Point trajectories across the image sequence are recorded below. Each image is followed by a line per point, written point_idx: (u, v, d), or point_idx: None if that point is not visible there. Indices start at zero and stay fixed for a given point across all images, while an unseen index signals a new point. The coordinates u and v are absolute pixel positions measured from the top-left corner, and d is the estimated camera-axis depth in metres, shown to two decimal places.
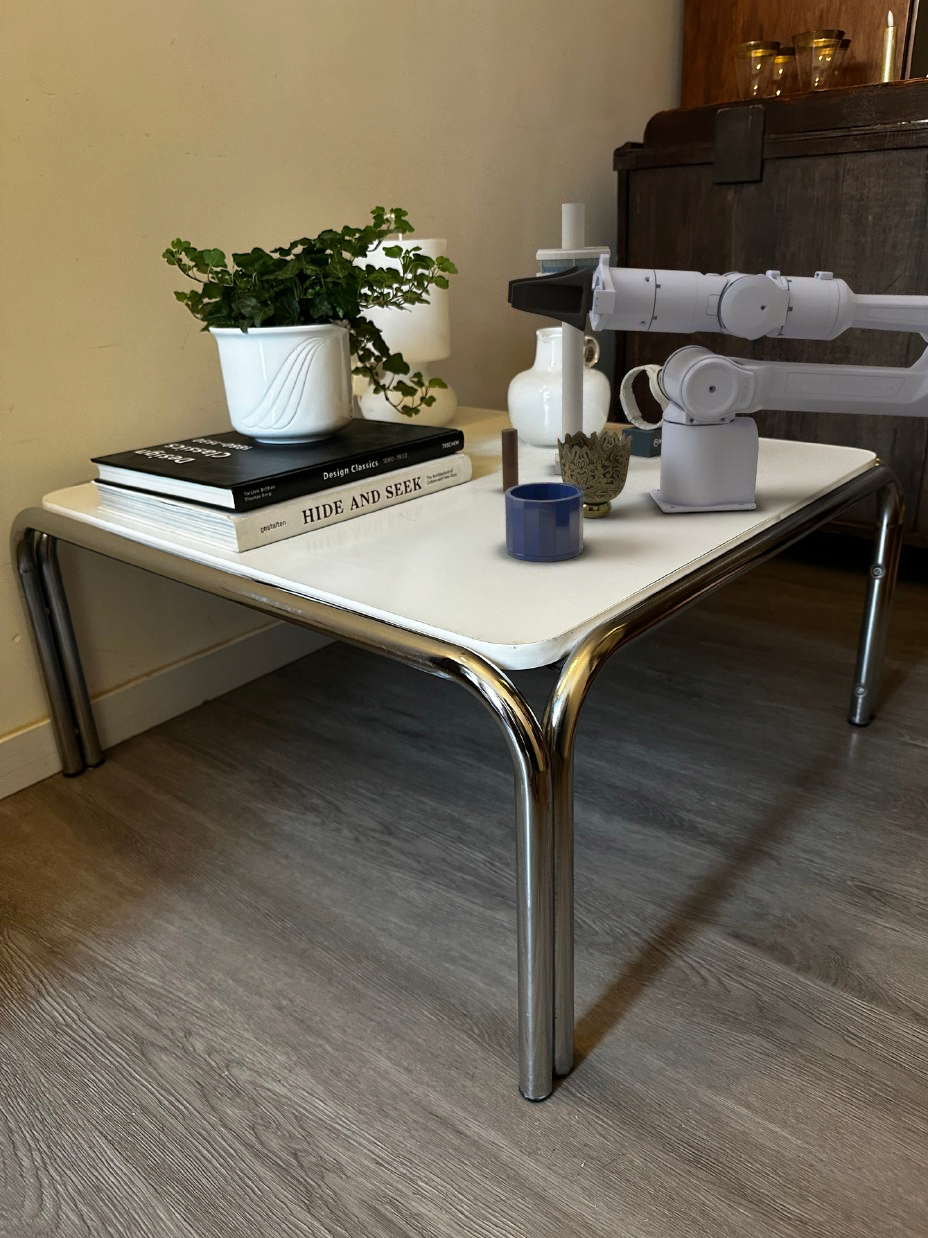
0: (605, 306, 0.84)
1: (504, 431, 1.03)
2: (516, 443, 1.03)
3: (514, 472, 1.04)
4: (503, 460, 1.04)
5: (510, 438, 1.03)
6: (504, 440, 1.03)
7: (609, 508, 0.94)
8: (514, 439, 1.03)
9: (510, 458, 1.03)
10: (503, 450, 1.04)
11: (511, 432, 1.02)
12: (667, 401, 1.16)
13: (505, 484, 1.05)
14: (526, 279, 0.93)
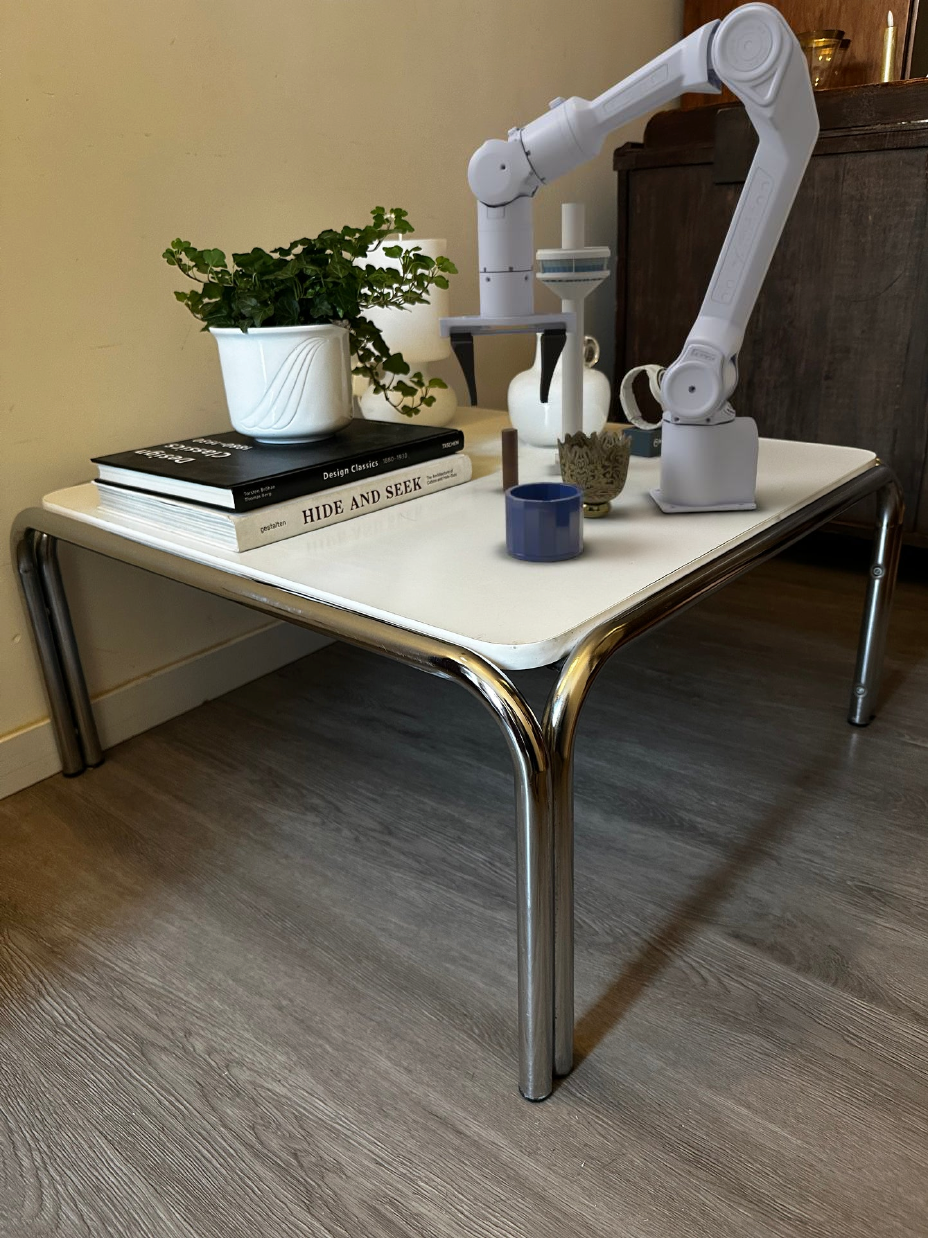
0: None
1: (504, 431, 1.03)
2: (516, 443, 1.03)
3: (514, 472, 1.04)
4: (503, 460, 1.04)
5: (510, 438, 1.03)
6: (504, 440, 1.03)
7: (609, 508, 0.94)
8: (514, 439, 1.03)
9: (510, 458, 1.03)
10: (503, 450, 1.04)
11: (511, 432, 1.02)
12: None
13: (505, 484, 1.05)
14: (540, 383, 1.03)
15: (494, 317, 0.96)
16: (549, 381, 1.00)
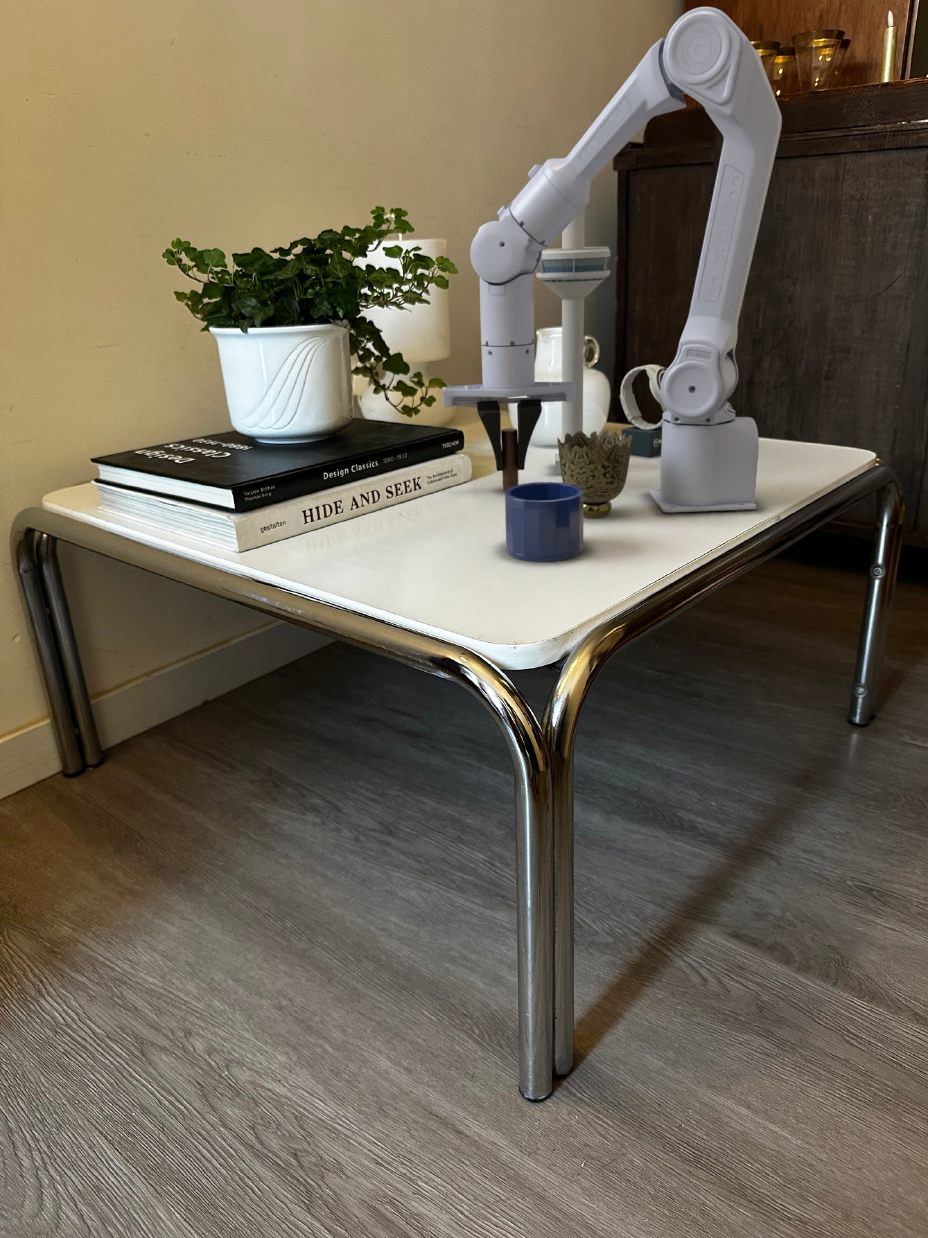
0: None
1: (504, 431, 1.03)
2: (516, 443, 1.03)
3: (514, 472, 1.04)
4: (503, 460, 1.04)
5: (510, 438, 1.03)
6: (504, 440, 1.03)
7: (609, 508, 0.94)
8: (514, 439, 1.03)
9: (510, 458, 1.03)
10: (503, 450, 1.04)
11: (511, 432, 1.02)
12: None
13: (505, 484, 1.05)
14: None
15: (496, 389, 0.99)
16: (525, 449, 1.03)
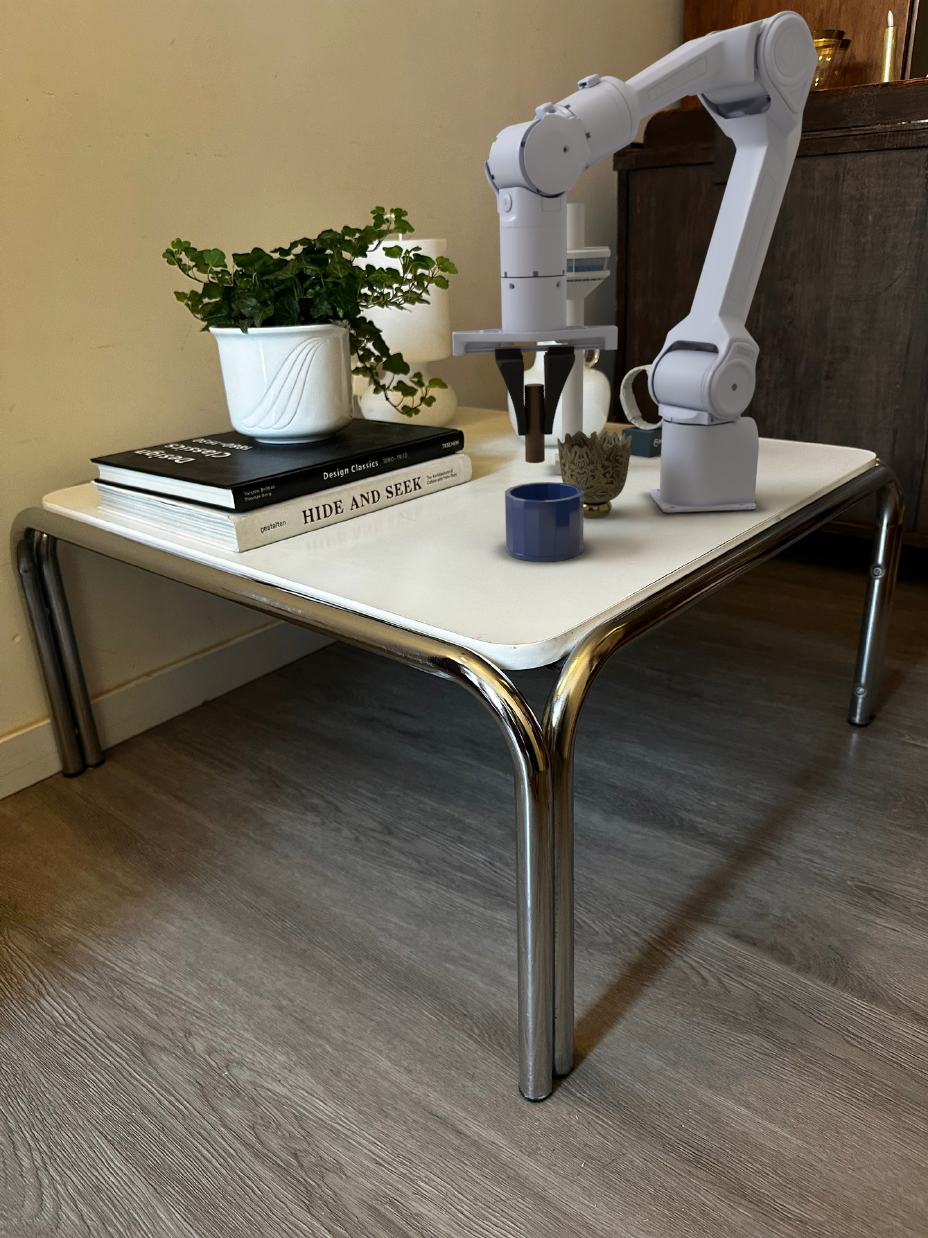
0: None
1: (528, 386, 0.83)
2: (542, 401, 0.84)
3: (539, 437, 0.85)
4: (526, 423, 0.85)
5: (535, 395, 0.83)
6: (528, 397, 0.84)
7: (609, 508, 0.94)
8: (540, 396, 0.84)
9: (535, 419, 0.84)
10: (526, 410, 0.84)
11: (536, 387, 0.83)
12: None
13: (528, 452, 0.86)
14: None
15: (519, 332, 0.80)
16: (554, 409, 0.83)
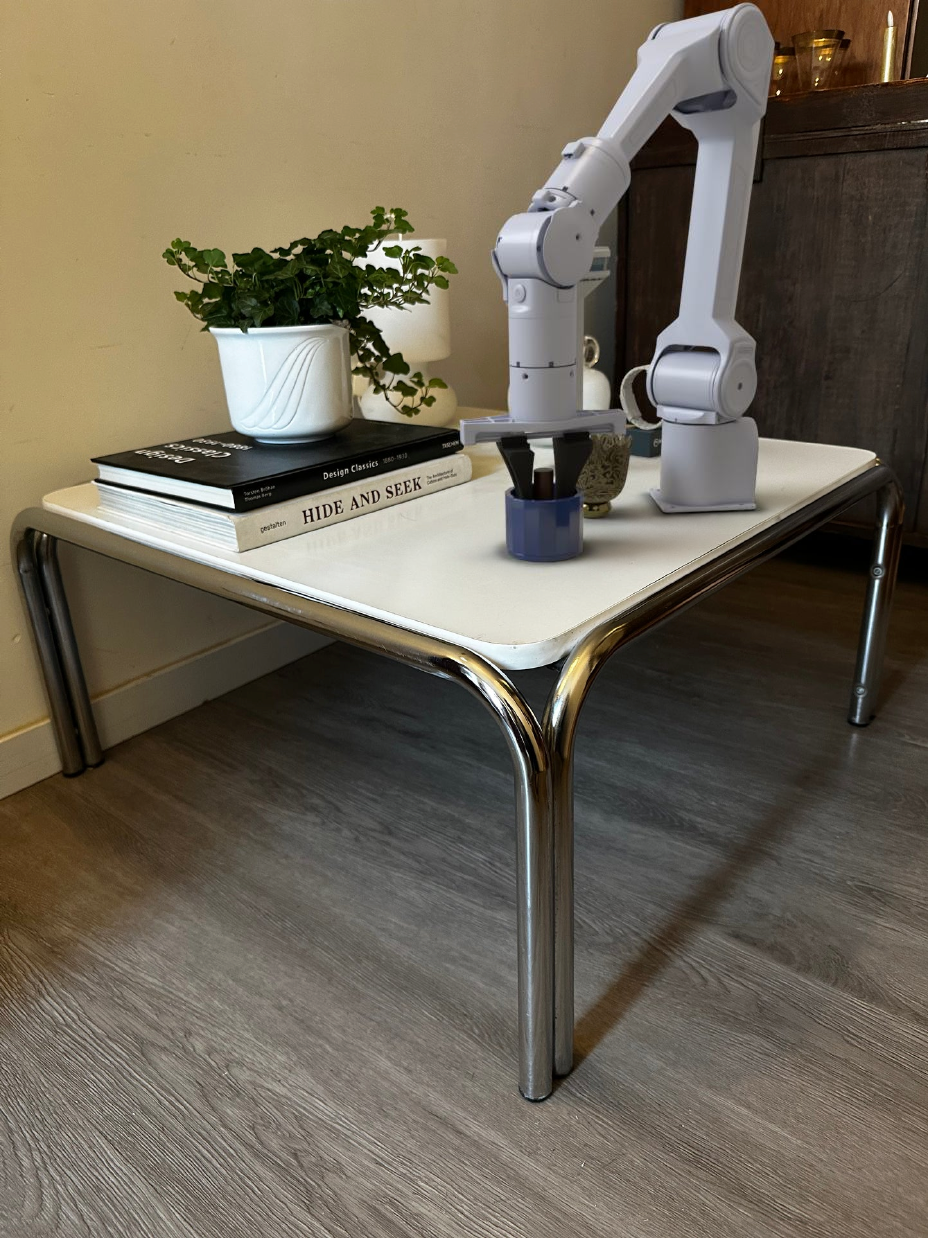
0: (462, 432, 0.80)
1: (538, 472, 0.82)
2: (552, 486, 0.83)
3: None
4: None
5: (546, 480, 0.82)
6: (539, 483, 0.82)
7: (609, 508, 0.94)
8: (551, 481, 0.82)
9: None
10: (536, 495, 0.83)
11: (547, 473, 0.82)
12: None
13: None
14: None
15: (533, 421, 0.78)
16: (571, 494, 0.82)
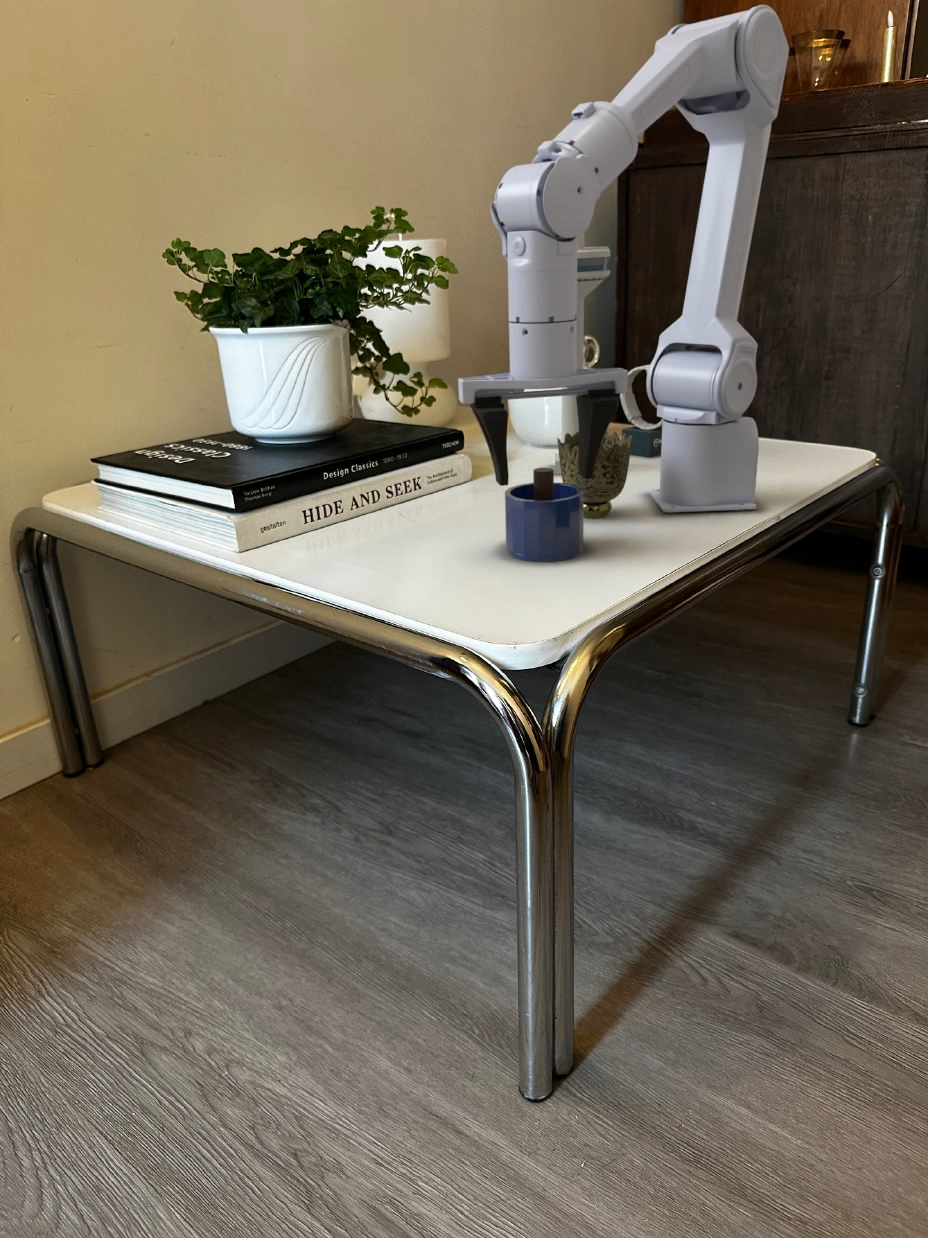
0: (461, 390, 0.78)
1: (538, 472, 0.82)
2: (552, 486, 0.83)
3: None
4: None
5: (546, 480, 0.82)
6: (539, 483, 0.82)
7: (609, 508, 0.94)
8: (551, 481, 0.82)
9: None
10: (536, 495, 0.83)
11: (547, 473, 0.82)
12: None
13: None
14: (578, 454, 0.84)
15: (533, 378, 0.77)
16: (596, 453, 0.81)
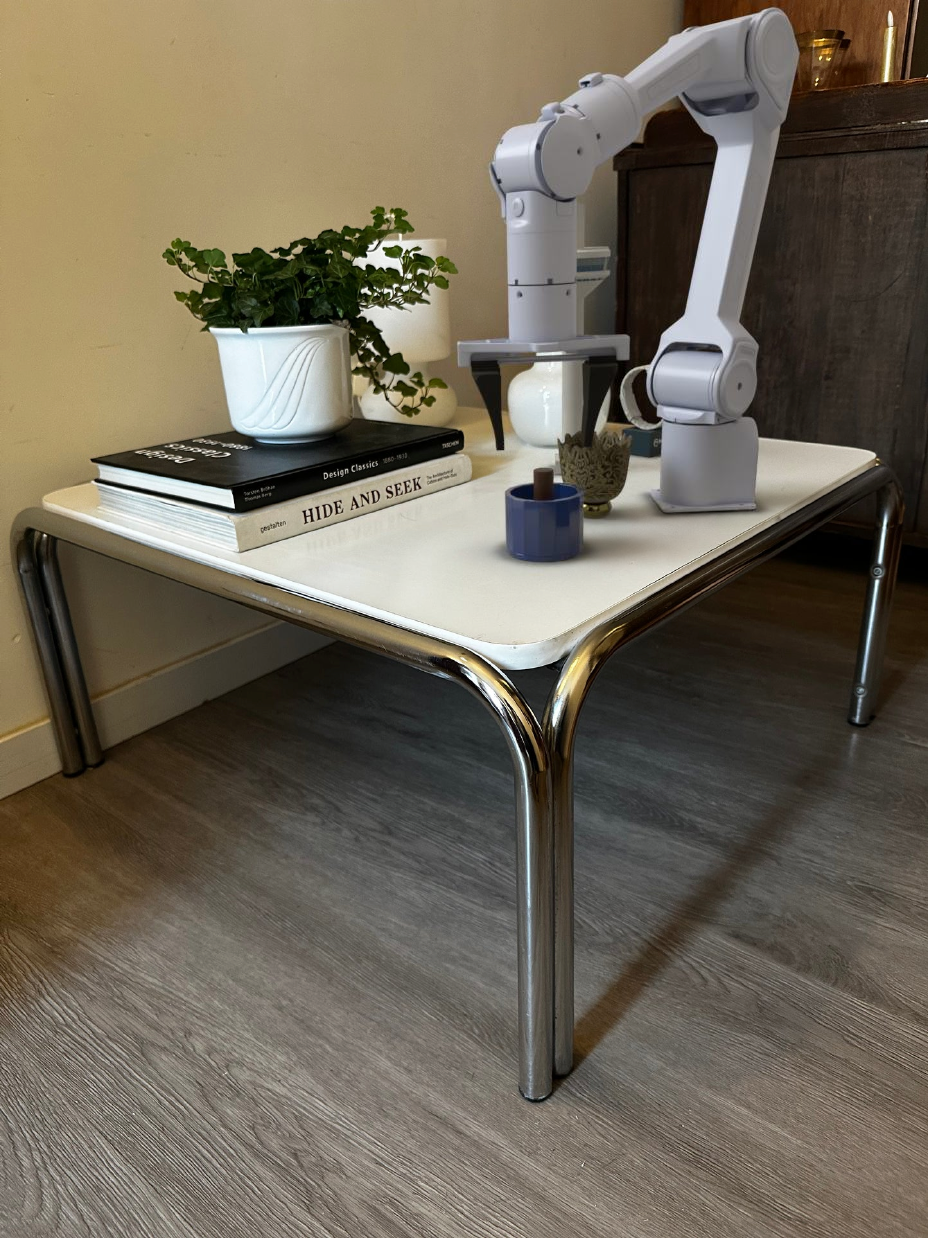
0: None
1: (538, 472, 0.82)
2: (552, 486, 0.83)
3: None
4: None
5: (546, 480, 0.82)
6: (539, 483, 0.82)
7: (609, 508, 0.94)
8: (551, 481, 0.82)
9: None
10: (536, 495, 0.83)
11: (547, 473, 0.82)
12: None
13: None
14: None
15: None
16: None
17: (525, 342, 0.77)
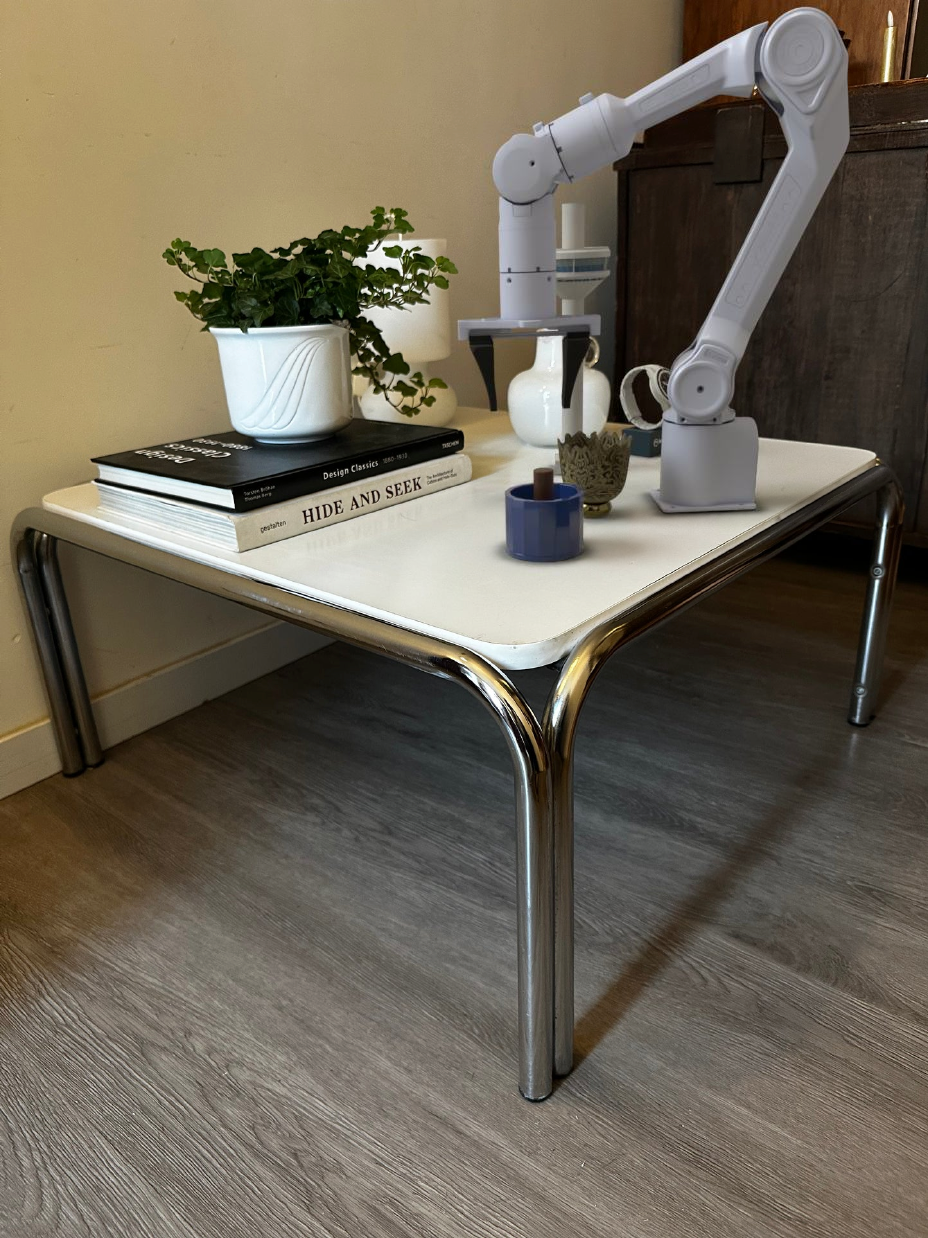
0: None
1: (538, 472, 0.82)
2: (552, 486, 0.83)
3: None
4: None
5: (546, 480, 0.82)
6: (539, 483, 0.82)
7: (609, 508, 0.94)
8: (551, 481, 0.82)
9: None
10: (536, 495, 0.83)
11: (547, 473, 0.82)
12: (667, 401, 1.16)
13: None
14: None
15: None
16: None
17: (514, 320, 0.93)
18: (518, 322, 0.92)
